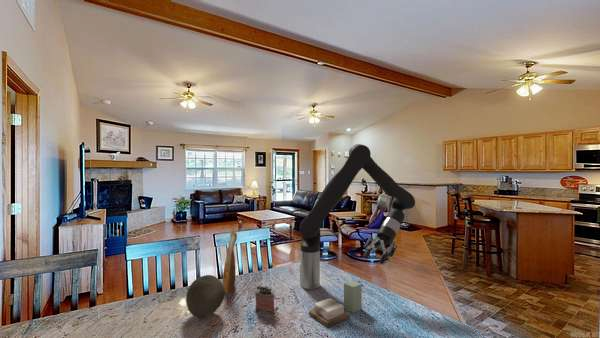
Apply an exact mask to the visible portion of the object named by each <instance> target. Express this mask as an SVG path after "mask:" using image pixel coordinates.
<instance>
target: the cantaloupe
mask: <svg viewBox="0 0 600 338" xmlns="http://www.w3.org/2000/svg"><path fill="white" fill-rule="evenodd" d="M225 294H226V293H225V288H224V286H223V281H222V280H220V279H219V278H217V277H216V276H215V275H212V274H207V275H202V276H199V277H197V278H196V279H194V281H192V282H191V284H190V285H189V287H188V288H187V291H186V297H185V300H186V307H187V310H188V311H189V313H190V314H192V316H194V317H196V318H201V319H202V318H206V317H209V316H212V314H214V313H216V311H217V310H218V309H219V308H220V306H221V305H222V303H223V301H224V299H225V296H226V295H225Z"/></svg>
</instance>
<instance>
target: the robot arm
mask: <svg viewBox="0 0 600 338" xmlns="http://www.w3.org/2000/svg"><path fill="white" fill-rule="evenodd" d="M361 170H364V172H366V173H367V174H368V176H369V177H371V179H372V180H373V181H374V182H375V183H376V185H377V186H378V187H379V188H380V189H381V190H382V191H383V192H384V194H386V195H387V196H388V197H390V198H391V197H392V198H394V199H393V200H392V201H391V205H390V210H389V212H388V214H387V215H386V218H385V219H384V220H383V222H382V224H381V225H380V227H379V228H378V231H377V233H376V237H375V238H374V237H372V236H369V237H368V239H367V241H366V242H365V244H364V245H363V247H364V249H365V251H364V254H363V256H362V257H363V258H364V259H365V260H368V258H369V257H370V255H371V253H372V252H373V251H376V250H379V251H382V254H381V256H380V258H379V259H378V262H379V264H380V265H383V264H384V263H385V262H386V260H387V258H389V257H390V258H392V257H393V256H394V254H395V251H396V249H397V247H398V245H397V243H396V242H395V239H396V236H397V235H398V233H399V231H400V229H401V226H402V224H403V222H404V220H405V213H404V210H411V209H412V208H415V205H416V199H415V197H414V196H413V194H412V193H410V192H409V191H407V190H406V189H404V188H403V187H401V186H400V185H399V184H398V183H397V182H396V181H395V180H394V179H393V178H392V176H391V175H390V174H388V173H387V172H386V171H385V170H384V169H383V168H382V167H380V165H378V164H377V163H376V161H375V160H374V159H373V158H372V157H371V150H370V148H369V147H368V146H367V145H364V144H361V143H360V144H359V143H357V144H354V145H352V146H351V147H350V148H349V151H348V157H347V160H346V161H345V163H344V165H342V167H341V168H340V170H338V171H337V172H336V173H335V174H334V175H333V176H332V177H331V179H330V180H329V181H328V182H327V184H326V185H325V187H324V188H323V190H322V192H321V193H320V195H319V197H318V199H317V200H316V202H315V204H314V206H313V208H312V209H311V210H310V212H308V214H307V215H306V217H304V219H303V220H301V222H300V224H299V234H300V235H301V243H300V264H299V285H300V286H301V288H303V289H306V290H315V289H319V288H320V287H321V257H320V255H321V248H320V247H321V227H322V224H323V223H324V221H325V219H326V218H327V216H329V214H330V213H331V212H332V211H333V210H334V209H335V208H336V206H337V205H338V204H339V202H341V200H342V198H343V196H345V194H346V192H347V190H348V189H349V188H350V186H351V185H352V183H353V181H354V180H355V178H356V176H357V175H358V173H359V172H360V171H361Z"/></svg>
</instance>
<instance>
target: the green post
mask: <svg viewBox="0 0 600 338" xmlns="http://www.w3.org/2000/svg"><path fill="white" fill-rule="evenodd" d="M362 289H363V288H362V283H360V282H357V281H355V280H350V281H347V282H343V305H344V310H347V311H349V312H351V313H356V312H359V311H361V310H362V309H363V308H362V307H363V305H362V304H363V302H362V301H363V300H362V296H363V295H362V294H363V292H362Z"/></svg>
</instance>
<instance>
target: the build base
mask: <svg viewBox="0 0 600 338" xmlns="http://www.w3.org/2000/svg"><path fill="white" fill-rule="evenodd" d="M313 307H314V308H313V309H310V310H308V316H310V317H311V318H313V319H314V320H316V321H317V322H319V323H320V324H321V325H323V326H325V327H326V328H330V327H332V326H334V325H336V324H339V323H341V322H344V321H345V320H346V321H347V320H348V319H350V313H348V312H347V311H345V308H344V304H341V303H340V302H338V301H336V300H334V299H332V298H331V297H329V298H327V299H323V300H320V301H318V302H317V301H316V302H315V303H314V305H313Z"/></svg>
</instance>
